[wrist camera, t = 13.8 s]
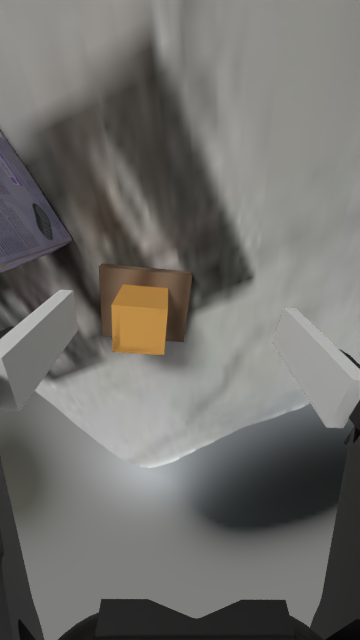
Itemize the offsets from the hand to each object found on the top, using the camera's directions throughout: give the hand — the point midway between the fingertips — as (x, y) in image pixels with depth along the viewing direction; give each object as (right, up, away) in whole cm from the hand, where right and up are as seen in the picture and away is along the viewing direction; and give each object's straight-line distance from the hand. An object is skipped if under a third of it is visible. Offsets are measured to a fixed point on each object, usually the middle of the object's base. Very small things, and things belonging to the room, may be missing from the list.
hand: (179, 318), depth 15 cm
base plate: (-6, +3, +25) cm, 26 cm away
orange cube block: (-6, +2, +23) cm, 24 cm away
